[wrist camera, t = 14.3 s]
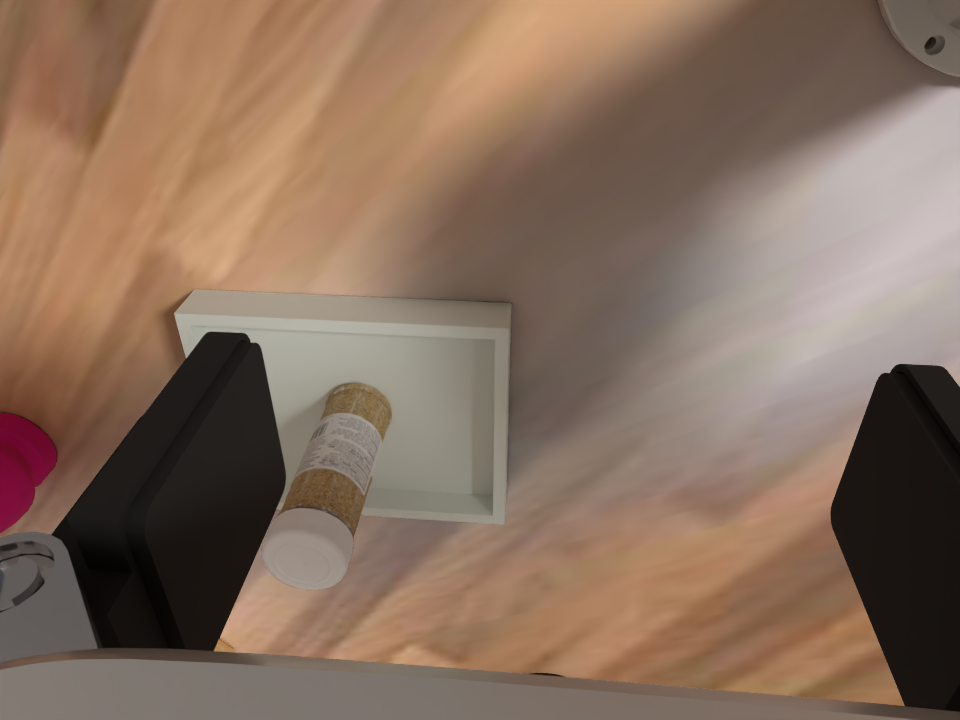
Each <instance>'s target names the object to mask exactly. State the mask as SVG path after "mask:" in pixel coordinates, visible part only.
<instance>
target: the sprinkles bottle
mask: <svg viewBox="0 0 960 720" xmlns="http://www.w3.org/2000/svg"><path fill="white" fill-rule="evenodd" d="M391 420H392V411H391V407H390V404H389V402H388V400H387V398H386V397H385V396H384V395H383V394H381V393H380V392H379V391H378V390H376V389H375V388H373V387H371V386H368V385H366V384H361V383H349V384H344V385H341V386H339V387H337V388H336V389H334V390H333V392H332V393H330V395H329V396H328V399H327V401H326V405H325V409H324V412H323V414H322V417H321V419H320V422H319V423H318V424H317V426H316V428H315V430H314V432H313V434H312V437H311V439H310V441H309V443H308V446H307V448H306V450H305V452H304V455H303V457H302V459H301V462H300V464H299V467H298V469H297V471H296V474H295V476H294V478H293V481H292V483H291V486H290V490H289V492H288V494H287V497H286V500H285V503H284V505H283V507H282V509H281V512H280V513H279V514H278V515H277V517H276V518H275V519H274V521H273V522H272V524H271V526H270V529H269V531H268V533H267V536H266V538H265V541H264V544H263V547H262V559H263V562H264V564H265V566H266V568H267V569H268V571H269V572H270V573H271V574H272V575H273V576H274V577H276V578H277V579H278V580H280V581H281V582H283V583H285V584H287V585H290V586H292V587H296V588H299V589H305V590H320V589H325V588H329V587H331V586H333V585H335V584H337V583H338V582H339V581H340V580H341V579H342V578H343V577H344V575H345V573H346V571H347V568H348V565H349V562H350V559H351V556H352V552H353V549H354V534H355V531H356V528H357V525H358V522H359V518H360V515H361V512H362V510H363V506H364V503H365V500H366V497H367V493H368V490H369V487H370V484H371V483H372V480H373V477H374V474H375V470H376V467H377V464H378V461H379V457H380V454H381V451H382V443H383V440H384V437H385V434H386V431H387V429H388V427H389V425H390V423H391Z"/></svg>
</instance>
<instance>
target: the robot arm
mask: <svg viewBox="0 0 960 720" xmlns="http://www.w3.org/2000/svg"><path fill="white" fill-rule="evenodd" d="M877 1H878V4H879V8H880V12H881V15H882V17H883V19H884V21H885V23H886V24H887V26H888V28H889V30H890V32H891V34H892V35H893V37H894V38H895V39H896V40H897V41H898V42H899V43H900V44H901V45H902V47H903V48H904V49H905V50H906V51H907V52H908V53H909V54H911V55H912V56H914V57H915V58H917V59H918V60H920V61H921V62H923V63H924V64H926V65H928V66H930V67H932V68H934V69H936V70H938V71H941V72H943V73H945V74H948V75H952V76H956V77H960V0H877ZM931 37H932V42H931V44H930V45H928V46H927V47H925V44H926V42H927V40H928V39H929V38H931ZM285 483H286V470H285V464H284V459H283V454H282V449H281V444H280V439H279V434H278V429H277V424H276V419H275V414H274V409H273V404H272V399H271V394H270V389H269V384H268V379H267V374H266V369H265V364H264V359H263V354H262V350H261V347H260V345H259V344H258V343H252V342H251V341H250V339H249V337H248V335H247V334H245V333H234V332H213V331H211V332H207V333H206V334H205V335H204V336H203V337H202V338H201V340H200V341H199V342H198V344H197V345H196V346H195V348H194V349H193V350H192V352H191V353H190V354H189V356H188V357H187V358H186V360H185V361H184V362H183V364H182V365H181V366H180V368H179V369H178V370H177V372H176V373H175V374H174V375H173V377H172V378H171V379H170V381H169V382H168V383H167V385H166V386H165V387H164V389H163V390H162V391H161V393H160V394H159V395H158V397H157V398H156V399H155V401H154V402H153V403H152V405H151V406H150V407H149V409H148V410H147V411H146V413H145V414H144V415H143V416H142V417H141V418H140V419H139V420H138V421H137V423H136V424H135V425H134V426H133V428H132V429H131V430H130V432H129V433H128V434H127V436H126V437H125V438H124V440H123V441H122V442H121V444H120V445H119V446H118V448H117V449H116V450H115V452H114V453H113V454H112V455H111V457H110V458H109V459H108V461H107V462H106V463H105V465H104V466H103V467H102V469H101V470H100V471H99V473H98V474H97V475H96V477H95V478H94V479H93V481H92V482H91V483H90V485H89V486H88V487H87V488H86V490H85V491H84V492H83V494H82V495H81V496H80V498H79V499H78V500H77V502H76V503H75V504H74V506H73V507H72V508H71V510H70V511H69V512H68V514H67V515H66V516H65V518H64V519H63V520H62V521H61V523H60V524H59V525H58V527H57V528H56V529H55V531H54V532H53V533H52V535H50V534H45V533H38V532H27V533H17V534H12V535H9V536H5V537H2V538H0V720H960V387H959V386H958V384H957V383H956V382H955V380H954V379H953V378H952V376H951V375H950V374H949V373H948V371H947V370H946V369H945V368H943V367H941V366H933V365H912V364H899V365H896V366H895V367H894V368H893V369H892V370H891V372H890V373H884V374H881V375H880V377H879V378H878V380H877V382H876V385H875V387H874V390H873V393H872V396H871V398H870V401H869V404H868V407H867V409H866V412H865V415H864V418H863V420H862V423H861V426H860V429H859V431H858V434H857V437H856V439H855V442H854V445H853V448H852V450H851V453H850V456H849V459H848V461H847V464H846V467H845V470H844V472H843V475H842V478H841V481H840V483H839V486H838V489H837V492H836V494H835V497H834V500H833V503H832V506H831V524H832V528H833V531H834V533H835V536H836V538H837V540H838V543H839V545H840V548H841V550H842V553H843V555H844V558H845V560H846V563H847V565H848V567H849V570H850V572H851V575H852V577H853V580H854V582H855V585H856V587H857V589H858V592H859V594H860V597H861V599H862V602H863V604H864V607H865V609H866V612H867V614H868V616H869V619H870V621H871V624H872V626H873V629H874V631H875V634H876V636H877V638H878V641H879V643H880V646H881V648H882V651H883V653H884V656H885V658H886V660H887V663H888V665H889V668H890V670H891V673H892V675H893V678H894V680H895V683H896V685H897V687H898V690H899V692H900V695H901V697H902V700H903V702H904V705H905V706H897V705H887V704H877V703H866V702H854V701H843V700H831V699H820V698H808V697H796V696H785V695H773V694H762V693H750V692H738V691H727V690H715V689H704V688H692V687H680V686H668V685H656V684H644V683H631V682H619V681H607V680H595V679H582V678H570V677H558V676H545V675H533V674H520V673H508V672H495V671H483V670H470V669H458V668H444V667H431V666H418V665H405V664H391V663H378V662H365V661H352V660H338V659H325V658H312V657H299V656H285V655H269V654H252V653H235V652H218V651H214V649H215V647H216V645H217V643H218V640H219V638H220V636H221V633H222V631H223V629H224V627H225V624H226V622H227V620H228V618H229V615H230V613H231V611H232V608H233V606H234V604H235V602H236V599H237V597H238V595H239V593H240V590H241V588H242V586H243V583H244V581H245V579H246V577H247V574H248V572H249V570H250V568H251V565H252V563H253V561H254V558H255V556H256V554H257V552H258V549H259V547H260V545H261V543H262V540H263V538H264V536H265V533H266V531H267V529H268V527H269V524H270V522H271V520H272V518H273V515H274V513H275V511H276V508H277V506H278V504H279V502H280V499H281V497H282V495H283V492H284V489H285Z"/></svg>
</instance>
